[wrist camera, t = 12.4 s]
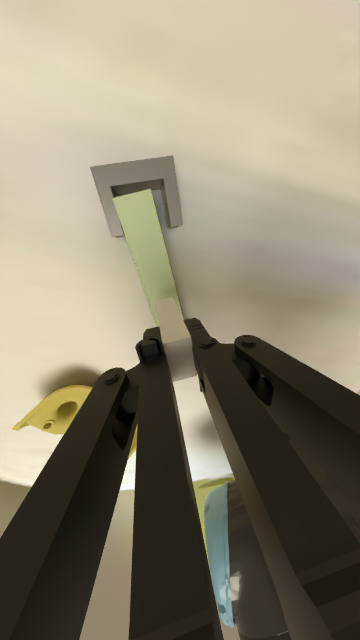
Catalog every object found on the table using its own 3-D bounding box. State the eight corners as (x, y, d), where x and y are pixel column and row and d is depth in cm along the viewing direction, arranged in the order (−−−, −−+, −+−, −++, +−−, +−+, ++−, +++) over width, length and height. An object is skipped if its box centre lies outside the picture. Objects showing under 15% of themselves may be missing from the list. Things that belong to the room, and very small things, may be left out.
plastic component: (153, 428, 33) (113, 476, 30) (139, 405, 39) (104, 444, 36) (71, 374, 23) (-2, 440, 20) (69, 354, 29) (12, 402, 26)
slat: (119, 207, 19) (112, 198, 15) (149, 200, 19) (150, 188, 15) (166, 345, 28) (170, 365, 24) (185, 339, 29) (193, 357, 24)
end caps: (195, 351, 30) (201, 364, 27) (154, 361, 29) (155, 376, 26) (168, 169, 18) (173, 155, 15) (99, 179, 18) (90, 166, 15)
